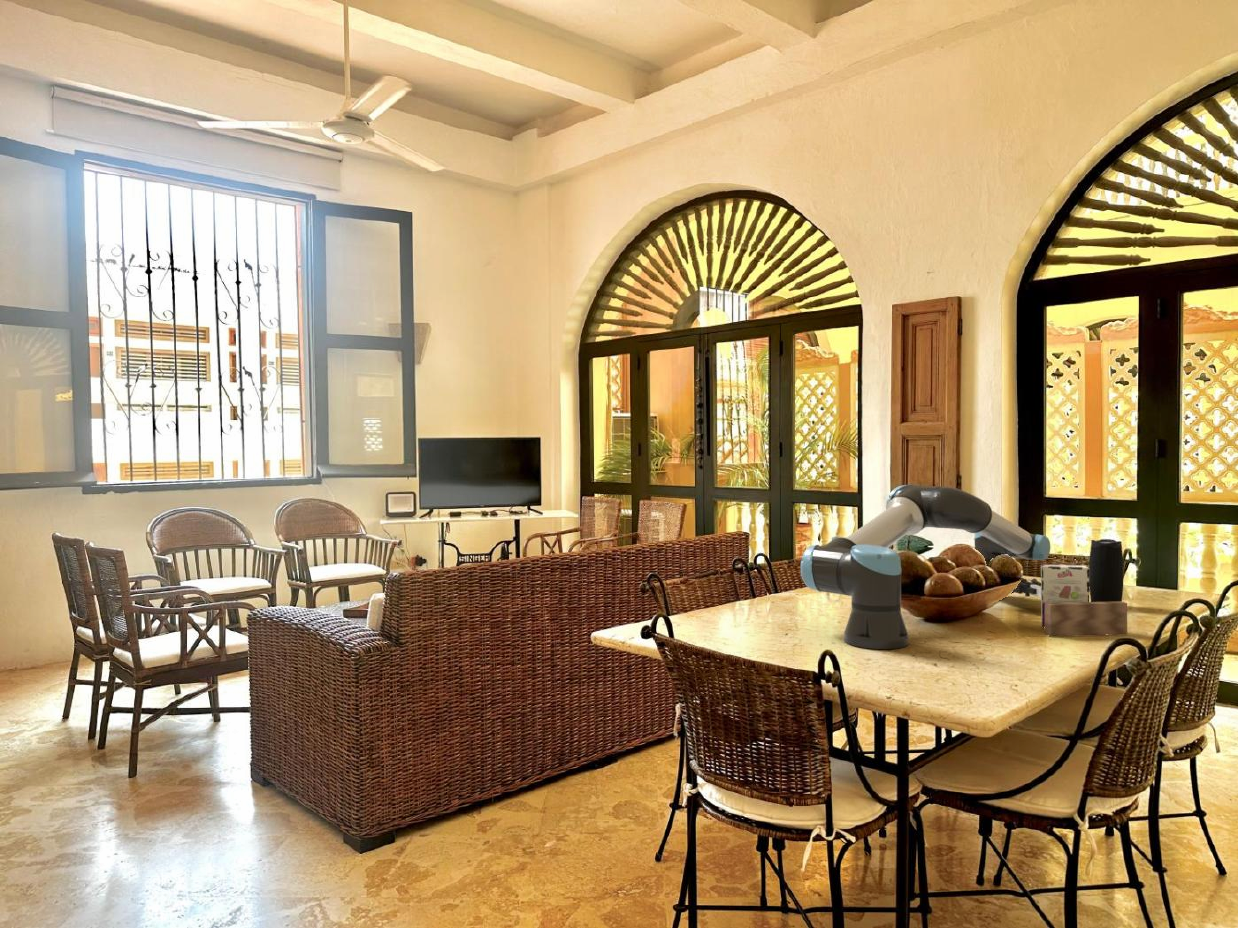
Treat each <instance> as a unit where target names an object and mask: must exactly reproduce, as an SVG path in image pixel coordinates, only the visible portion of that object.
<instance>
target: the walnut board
mask: <svg viewBox="0 0 1238 928" xmlns="http://www.w3.org/2000/svg"><path fill="white" fill-rule="evenodd" d="M1106 634H1112V635H1111V636H1118V635H1117V634H1127V635H1128V602H1124V601H1123V600H1122V601H1112V602H1091V601H1089V602H1069V603H1045V628H1044V635H1045V636H1047V635H1049V636H1048V637H1050V636H1059V637H1076V636H1075V635H1098V636H1107V635H1106ZM1069 635H1070V636H1069Z"/></svg>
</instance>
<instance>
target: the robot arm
mask: <svg viewBox="0 0 1238 928" xmlns="http://www.w3.org/2000/svg"><path fill="white" fill-rule="evenodd" d="M885 504H886V505H885V510H884V511H882V512H881V513H879V514H878V515H877V516H875V517H874V518H872V519H871V520H870V521H869V522H868V521H867V523H865V524H864V525H863V526H861V527H860V528H858V529H856V531H854V532H852V533H851V534H850V535H847V536H846V537H844V536H838V537H835V538H834V539H832V540H831V541H829V542H828V543H826V544H825V545H819V544H815V545H812V544H811V545H810V546H807V548H806V549H805V550H804V552H803V553H802V557H801V561H800V575H801V579H802V581H803V583H804V584H805V586H806V587H807V588H808V589H810V590H815V591H817V592H819V593H820V592H821V593H822V592H823V593H829V594H836V595H844V596H848V597H849V596H850V597H851V611H850V613H849V617H848V620H847V623H846V625H845V630H844V635H843V636H844V637H843V640H844V642H845V643H846V644H848V645H851V646H854V647H859V648H863V649H872V650H895V649H901V648H906V647H908V646H909V641H910V639H909V637H910V636H909V632H908V629H907V627H906V624H905V620H904V618H903V614H902V605H901V604H902V565H901V563H902V562H901V556H900V554H899V553H898V552H897V551H895V550H894V549H891V548H890V547H891V546H893V545H894V544H896V543H897V542H898V541H899V540H901V539H902V538H904V537H905V536H914V535H916V534H919V533H920V532H921V531H922V530H924V529H926V528H933V529H935V528H936V529H953V530H954V529H955V530H963V531H966V532H967V533H970V534H974V538H973V540H974V550H975V549H976V550H978V551H979V552H980V553H981V554H982V555H983V556H984V558H985V561H986V564H989V562H990V560H991V559H992V558H995V557H996V556H998V555H1001V554H1009V556H1010V557H1009V558H1012V559H1013V558H1014V559H1015V558H1016V559H1024V560H1031V561H1044V560H1046V559H1047V558H1048V557H1049V556H1050V553H1051V542H1050V539H1049V538H1048V537H1047V536H1046V535H1043V534H1037V533H1036V534H1032V533H1030V532H1028V531H1027V530H1025V529H1023V528H1022V527H1021V526H1019V525H1016V524H1015V523H1013V522H1012V521H1010V519H1007V518H1005V517H1004V516H1002V515H1000V514H999V513H997V512H995V511H993V509H992V507H991V506H990V504H989V503H987V502H986V501H985V500H982V499H981V498H980V497H978V496H976V495H974V494H971V493H969V492H967V491H964V490H963V489H960V488H956V487H953V486H932V485H931V486H930V485H916V484H905V485H904V484H903V485H899V486H897V487H895V488H893V489H892V490H891V492H890V493H889V494H888V498H887V499H886V502H885ZM1011 594H1019V595H1022V594H1025V595H1024V596H1025V597H1031V596H1034V597H1036V598H1040V599H1041V581H1038V580H1037V579H1036V578H1032V579H1029V581H1028V580H1027V579H1026V578H1023V577H1022V580H1021V582H1020V583H1019V584H1018V586H1017V588H1016V589H1014V590H1013V592H1012V593H1011ZM1011 594H1010V595H1011ZM1030 595H1031V596H1030Z"/></svg>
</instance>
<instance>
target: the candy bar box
mask: <svg viewBox="0 0 1238 928" xmlns="http://www.w3.org/2000/svg"><path fill="white" fill-rule="evenodd" d="M1040 583H1041V598H1040V608H1041V609H1040V610H1041V611H1040V612H1041V613H1040V617H1041V618H1040V620H1041V621H1040V622H1041V626H1042V627H1041V628H1043V629H1045V628H1044V627H1045V603H1069V602H1090V592H1089V589H1090V588H1089V566H1088V565H1079V564H1078V565H1077V564H1047V563H1046V564H1040Z"/></svg>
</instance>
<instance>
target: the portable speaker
mask: <svg viewBox="0 0 1238 928" xmlns="http://www.w3.org/2000/svg"><path fill="white" fill-rule="evenodd" d="M1090 541H1091V543H1090V544H1091V545H1090V550H1089V551H1090V552H1089V560H1088V561H1089V562H1088V563H1089V564H1088V565H1089V566H1088V568H1089V600H1090V602H1112V601H1122V602H1123V594H1124V593H1123V592H1124V554H1123V546H1122V545H1123V544H1122V542H1123V541H1117V540H1115V539H1110V538H1109V539H1108V538H1101V539H1099V540H1098V539H1097V540H1095V539H1091V540H1090Z"/></svg>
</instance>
